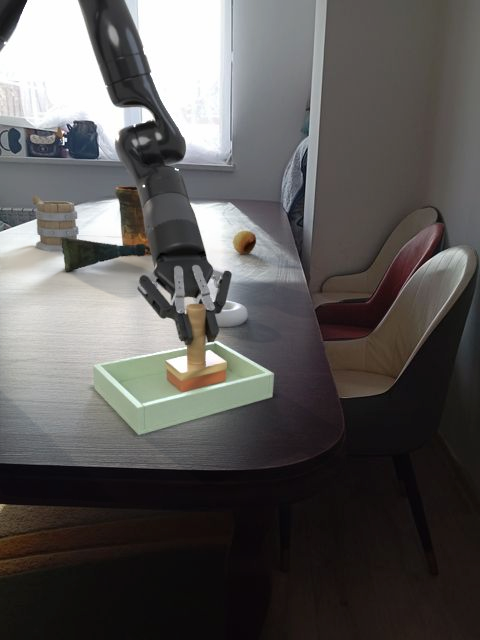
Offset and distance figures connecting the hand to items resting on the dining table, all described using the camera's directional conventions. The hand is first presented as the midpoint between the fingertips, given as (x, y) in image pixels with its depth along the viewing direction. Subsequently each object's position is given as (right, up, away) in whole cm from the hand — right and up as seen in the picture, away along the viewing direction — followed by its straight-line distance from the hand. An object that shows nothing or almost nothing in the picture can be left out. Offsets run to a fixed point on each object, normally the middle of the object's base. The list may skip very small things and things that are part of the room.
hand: (201, 340), depth 68 cm
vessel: (-31, +29, +95) cm, 104 cm away
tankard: (-60, +32, +99) cm, 120 cm away
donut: (0, +4, +33) cm, 34 cm away
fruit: (+2, +30, +102) cm, 106 cm away
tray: (-3, -7, +2) cm, 8 cm away
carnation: (-27, +20, +70) cm, 77 cm away
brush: (-1, -5, +5) cm, 7 cm away
